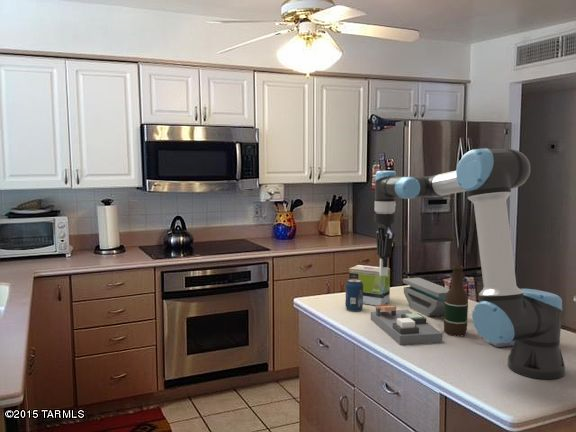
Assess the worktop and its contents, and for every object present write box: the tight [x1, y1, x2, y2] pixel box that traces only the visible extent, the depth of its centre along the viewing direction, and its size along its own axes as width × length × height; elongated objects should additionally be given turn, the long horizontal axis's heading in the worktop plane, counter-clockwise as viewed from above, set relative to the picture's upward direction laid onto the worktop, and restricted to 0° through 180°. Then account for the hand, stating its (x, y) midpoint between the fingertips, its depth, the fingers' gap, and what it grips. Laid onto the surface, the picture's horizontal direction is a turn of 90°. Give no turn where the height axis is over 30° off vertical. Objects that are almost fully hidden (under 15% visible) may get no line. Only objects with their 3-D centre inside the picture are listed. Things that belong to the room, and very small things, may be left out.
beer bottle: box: [443, 264, 469, 337], centre depth 186 cm, size 8×8×24 cm
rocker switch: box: [375, 304, 397, 311], centre depth 197 cm, size 9×4×2 cm, turn 11°
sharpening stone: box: [402, 277, 450, 317], centre depth 212 cm, size 25×8×11 cm, turn 20°
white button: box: [397, 318, 415, 328], centre depth 180 cm, size 5×5×2 cm
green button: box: [405, 312, 424, 319], centre depth 190 cm, size 5×5×2 cm
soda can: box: [344, 278, 364, 312], centre depth 214 cm, size 7×7×12 cm
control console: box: [370, 305, 444, 346], centre depth 189 cm, size 28×15×6 cm, turn 11°
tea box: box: [348, 264, 391, 306], centre depth 226 cm, size 15×10×15 cm, turn 58°
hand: (383, 275), depth 199 cm, fingers closed
